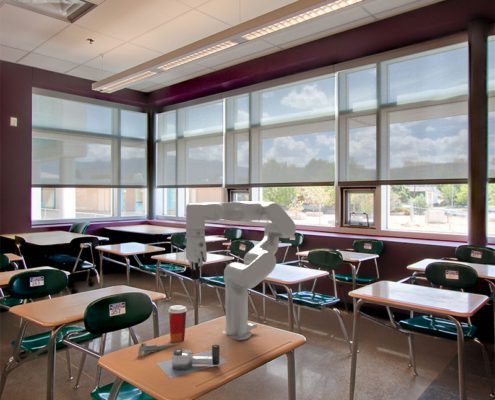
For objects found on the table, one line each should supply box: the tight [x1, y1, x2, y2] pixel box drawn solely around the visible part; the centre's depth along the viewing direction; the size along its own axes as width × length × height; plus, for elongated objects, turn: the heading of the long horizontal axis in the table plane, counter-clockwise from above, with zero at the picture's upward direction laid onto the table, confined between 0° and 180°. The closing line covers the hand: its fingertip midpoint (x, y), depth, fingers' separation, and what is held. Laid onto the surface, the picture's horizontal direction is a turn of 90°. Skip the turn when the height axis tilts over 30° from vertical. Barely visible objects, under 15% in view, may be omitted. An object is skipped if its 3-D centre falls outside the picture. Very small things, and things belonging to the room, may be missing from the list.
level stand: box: [155, 349, 229, 379], centre depth 132 cm, size 22×13×2 cm, turn 123°
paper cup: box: [167, 304, 188, 344], centre depth 156 cm, size 8×8×14 cm
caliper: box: [137, 342, 179, 358], centre depth 145 cm, size 20×1×6 cm, turn 136°
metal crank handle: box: [171, 344, 221, 370], centre depth 130 cm, size 16×7×7 cm, turn 90°
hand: (195, 279), depth 151 cm, fingers closed
